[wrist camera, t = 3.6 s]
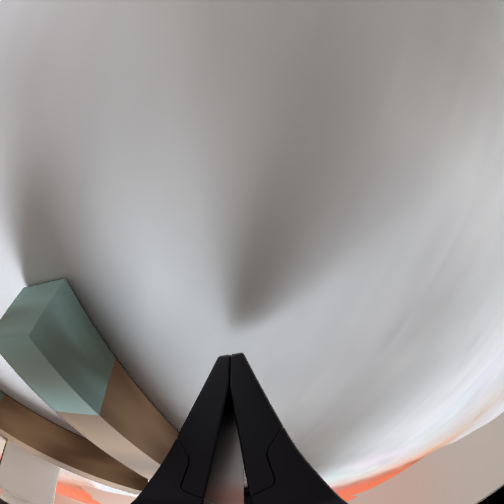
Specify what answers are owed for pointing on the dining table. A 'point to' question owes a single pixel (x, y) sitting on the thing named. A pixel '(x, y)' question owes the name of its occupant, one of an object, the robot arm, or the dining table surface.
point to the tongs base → (64, 448)
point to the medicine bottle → (26, 477)
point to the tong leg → (82, 376)
